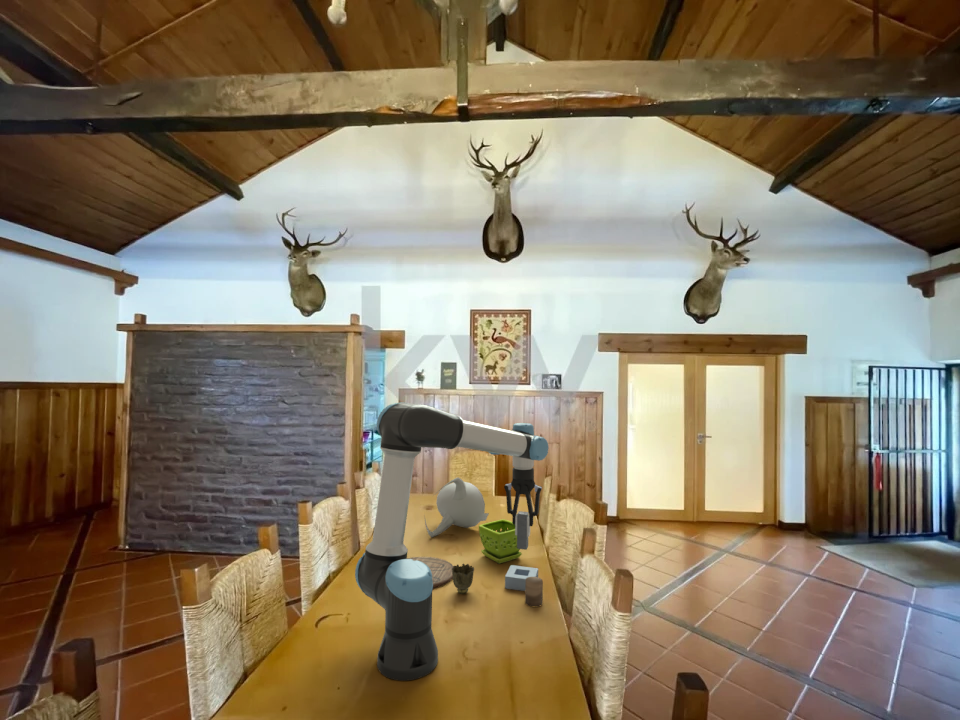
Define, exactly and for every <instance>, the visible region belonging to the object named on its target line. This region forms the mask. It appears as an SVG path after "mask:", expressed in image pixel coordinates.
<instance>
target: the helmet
mask: <svg viewBox="0 0 960 720" xmlns="http://www.w3.org/2000/svg"><path fill="white" fill-rule="evenodd" d="M436 494H437V496H436V507H437V511H438V512H439V514H440V516H441V517H442V519H441V522H440V523H439V524H438V526H437V527H436V528H435V529H434V530H432V531H431V530H429V528H428V526H427V521H426V519H424V524H425V528H426V530H427V534H428V535H429V537H430V538H434V537H436V536H439V535H440V534H442V533H443V532H445V531H447V530H448V529H449V528H450V527H451V526H457V527H461V528H467V529H468V528H474V527H476V526H477V525H478V524H479V523H480V522H484V521H487V518H488V516H489V512H486V513H485V507H486V503H485V500H484V496H483V494H482V492H481V491H480V489H479V488H478V487H477V486H476V485H474V484H473V483H471V482H468V481H464V480H463V479H462V478H461V477H455V478H454V479H452V480H450V481H449V482H447V483H446V484H444V485H443V486H442V487H441V488H439V490H438V493H437V492H435V493H434V494H433V496H434V495H436ZM425 515H426V514H424V515H423V516H424V517H426V516H425Z"/></svg>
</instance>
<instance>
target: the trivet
mask: <svg viewBox="0 0 960 720" xmlns="http://www.w3.org/2000/svg"><path fill="white" fill-rule="evenodd" d="M407 559H413V561H416V560H418V561H421V562H423V563H424V564H426V565H427V566H428V567H429V568H430V570H431V573H432V581H433V589H435V588H439V587H442V586H444V585H446V584H448V583H450V582H451V581H453V575H452V568H453V566H454V565H453V564H452V563H451V562H450V561H447V560H446V559H442V558H439V557H432V556H412V557H407Z"/></svg>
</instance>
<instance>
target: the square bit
mask: <svg viewBox="0 0 960 720" xmlns="http://www.w3.org/2000/svg"><path fill="white" fill-rule="evenodd" d="M528 515H529V512H528V511H517V549H520V550H526V551H527V550H528V548H529V536H527V517H528Z"/></svg>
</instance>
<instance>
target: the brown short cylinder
mask: <svg viewBox="0 0 960 720" xmlns="http://www.w3.org/2000/svg"><path fill="white" fill-rule="evenodd" d="M543 582H544V581H543V579H542V578H541V577H539V576H538V577H528V578H526V583H525V591H524V592H525V593H524V594H525V597H524V599H525V600H524V602H525V604H526V605H527V606H529V607H532V606H538V607H540V605H541V606H542V605H543V604H544V603H543V602H544V601H543V594H544V593H543V590H544V589H543V587H544V586H543Z"/></svg>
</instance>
